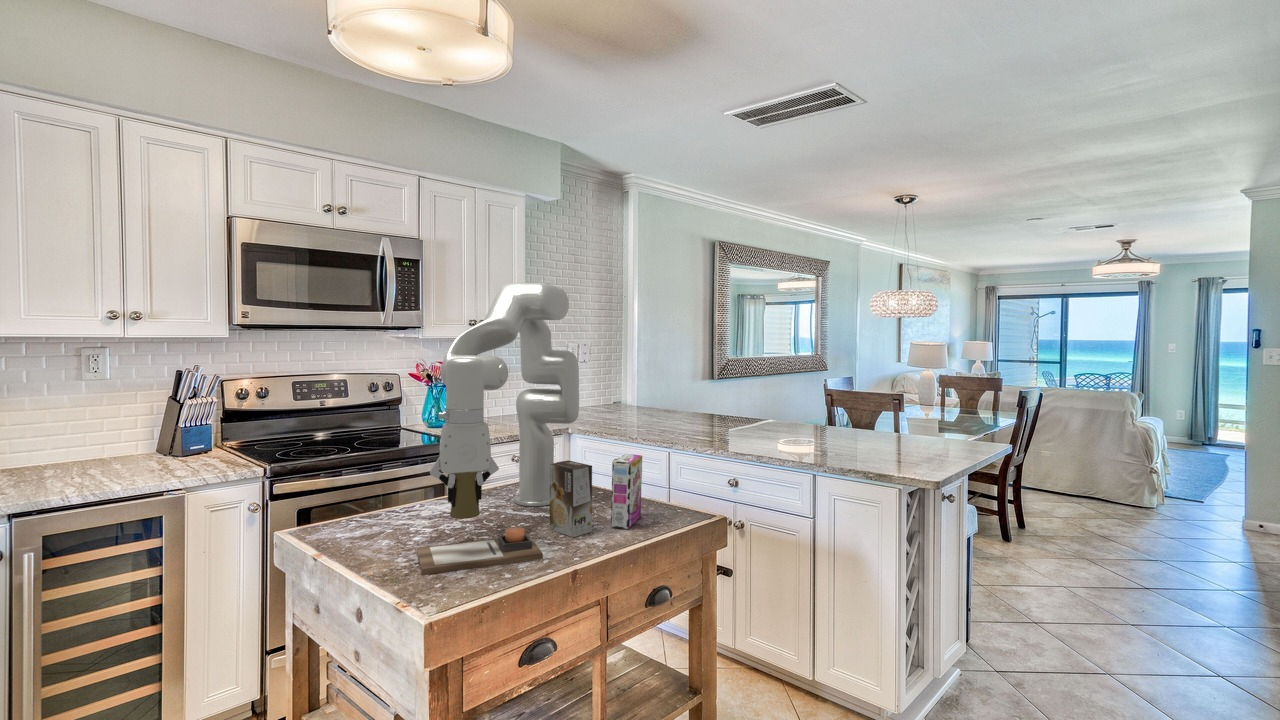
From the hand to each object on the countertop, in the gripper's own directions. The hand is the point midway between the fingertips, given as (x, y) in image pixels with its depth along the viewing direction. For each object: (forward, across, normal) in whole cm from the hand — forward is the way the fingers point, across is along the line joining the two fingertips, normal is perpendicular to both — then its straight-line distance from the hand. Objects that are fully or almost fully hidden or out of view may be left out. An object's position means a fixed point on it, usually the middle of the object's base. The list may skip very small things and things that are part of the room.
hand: (464, 503), depth 131 cm
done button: (+9, +11, 0) cm, 14 cm away
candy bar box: (+12, +41, +11) cm, 44 cm away
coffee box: (+12, +26, +10) cm, 30 cm away
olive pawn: (+2, 0, 0) cm, 2 cm away
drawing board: (+11, +3, 0) cm, 12 cm away
